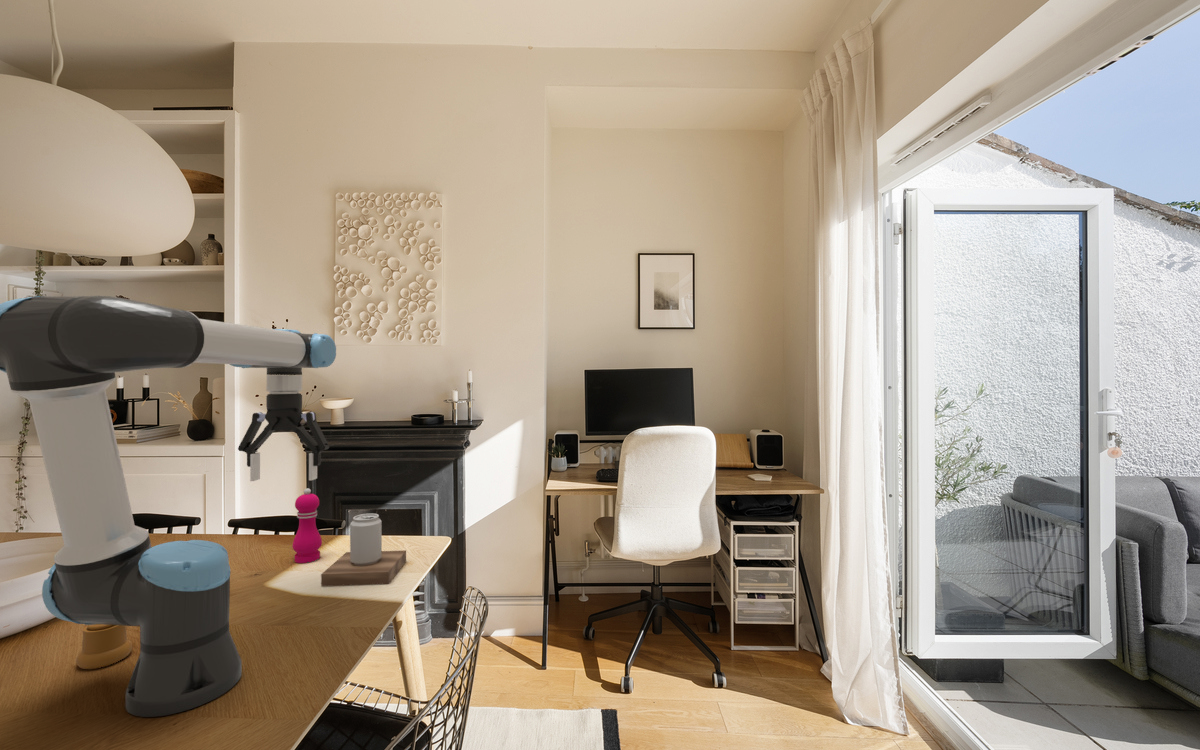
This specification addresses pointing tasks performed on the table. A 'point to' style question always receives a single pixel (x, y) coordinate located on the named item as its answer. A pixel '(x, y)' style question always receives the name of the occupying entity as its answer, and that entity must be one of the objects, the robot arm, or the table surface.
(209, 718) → the table surface
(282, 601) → the table surface
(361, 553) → the can
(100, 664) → the ornamental finial
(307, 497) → the pepper mill
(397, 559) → the walnut plinth
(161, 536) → the table surface
